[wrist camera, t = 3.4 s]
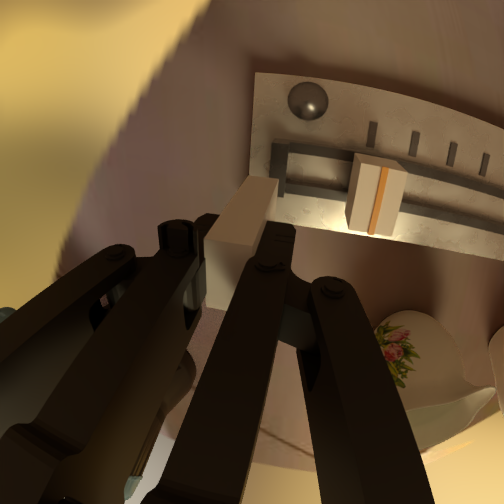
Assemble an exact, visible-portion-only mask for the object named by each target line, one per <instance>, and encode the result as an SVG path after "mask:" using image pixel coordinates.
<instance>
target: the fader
mask: <svg viewBox="0 0 504 504" xmlns="http://www.w3.org/2000/svg"><path fill="white" fill-rule="evenodd" d="M407 175H408V172H407V171H406V170H405V169H404V168H403V167H402V166H401V165H400V164H399V163H398V162H397V161H395V160H390V159H385V158H380V157H375V156H370V155H365V154H360V153H355V154H354V160H353V163H352V166H351V172H350V178H349V184H348V186H349V189H348V195H347V200H346V205H345V211H344V212H345V217H346V222H347V226H348V230H353V231H359V232H365V233H367V234H368V235H373V236H374V234H377V235H383V236H389V237H392V234H393V231H394V227H395V224H396V220H397V216H398V212H399V208H400V204H401V200H402V196H403V192H404V188H405V184H406V179H407Z"/></svg>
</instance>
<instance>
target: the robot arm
mask: <svg viewBox="0 0 504 504" xmlns="http://www.w3.org/2000/svg"><path fill="white" fill-rule="evenodd" d="M278 183H279V179H275V178H267V177H259V176H250V175H248V176H247V178H246V179H245V181H244V182H243V183H242V185H241V186H240V188H239V189H238V190H237V192H236V193H235V195H234V196H233V197H232V199H231V200H230V202H229V203H228V204H227V206H226V207H225V209H224V210H223V212H222V213H221V214H220V215H217V214H209V213H206V214H204V215H202V216H200V217H198V218H197V220H196V221H195V222H194V223H193V222H192V221H188V220H180V219H176V220H169V221H166V222H163V223H161V224H160V225H158V226H157V227H158V237H159V246H160V249H159V250H158V252H157V253H156V254H155V255H154V256H153V257H136V255H135V251H134V248H132V247H131V246H129V245H125V244H115V245H112V246H109V247H107V248H105V249H103V250H101V251H100V252H98V253H97V254H95V255H94V256H92V257H91V258H89V259H88V260H86V261H85V262H83V263H82V264H80V265H79V266H77V267H76V268H74V269H73V270H71V271H70V272H68V273H67V274H66V275H64V276H63V277H61V278H60V279H58V280H57V281H56V282H54V283H53V284H51V285H50V286H49V287H47V288H46V289H45V290H43V291H42V292H40V293H39V294H38V295H36V296H35V297H34V298H32V299H31V300H30V301H28V302H27V303H26V304H25V305H23V306H22V307H20V308H19V309H18V310H15V309H13V308H10V307H3V308H0V504H124V502H125V500H128V499H129V498H131V496H132V495H133V493H134V491H135V489H136V487H137V485H138V483H139V482H140V480H141V479H142V477H143V476H142V474H143V472H144V469H145V467H146V464H147V462H148V459H149V457H150V454H151V452H152V449H153V447H154V444H155V442H156V439H157V437H158V434H159V432H160V430H161V427H162V424H163V422H164V420H165V418H166V416H167V414H168V413H169V412H170V411H171V410H172V409H173V408H174V407H175V406H176V405H177V404H178V403H179V402H180V401H181V399H182V398H183V397H184V396H185V395H186V394H187V393H188V392H189V391H190V389H191V387H192V385H193V382H194V380H195V377H196V367H195V364H194V362H193V360H192V358H191V356H190V355H189V354H188V352H187V351H186V348H187V346H188V344H189V342H190V340H191V337H192V335H193V333H194V331H195V329H196V327H197V325H198V322H199V320H200V318H201V315H202V302H203V300H204V298H205V296H206V307H210V308H215V309H220V310H226V311H227V312H226V314H225V317H224V319H223V322H222V324H221V327H220V329H219V332H218V334H217V337H216V339H215V342H214V344H213V347H212V349H211V352H210V354H209V357H208V359H207V362H206V365H205V367H204V370H203V372H202V375H201V377H200V380H199V382H198V385H197V387H196V390H195V392H194V395H193V397H192V400H191V402H190V405H189V408H188V410H187V413H186V415H185V418H184V420H183V423H182V425H181V428H180V430H179V433H178V435H177V438H176V441H175V443H174V446H173V448H172V451H171V453H170V456H169V458H168V461H167V464H166V466H165V469H164V471H163V474H162V476H161V478H160V481H159V483H158V484H157V486H156V487H155V488H154V489H152V490H151V491H150V492H148V493H147V494H146V496H145V497H144V498H143V500H142V501H141V503H140V504H241V503H242V499H243V495H244V491H245V487H246V483H247V479H248V475H249V471H250V467H251V463H252V459H253V454H254V450H255V446H256V442H257V437H258V433H259V428H260V424H261V419H262V415H263V410H264V406H265V401H266V396H267V392H268V387H269V382H270V377H271V372H272V368H273V363H274V358H275V353H276V347H277V344H278V340H280V341H282V342H284V343H287V344H289V345H291V346H293V347H296V348H297V349H296V354H297V359H298V365H299V370H300V376H301V381H302V387H303V392H304V398H305V404H306V410H307V415H308V421H309V427H310V433H311V439H312V445H313V451H314V457H315V464H316V470H317V476H318V483H319V489H320V496H321V503H322V504H435V502H434V498H433V495H432V492H431V488H430V484H429V481H428V478H427V474H426V471H425V468H424V464H423V461H422V458H421V455H420V452H419V449H418V446H417V443H416V440H415V437H414V434H413V431H412V428H411V425H410V422H409V420H408V417H407V414H406V411H405V409H404V406H403V403H402V400H401V398H400V395H399V393H398V390H397V387H396V385H395V382H394V380H393V377H392V375H391V372H390V370H389V367H388V365H387V362H386V360H385V357H384V355H383V353H382V350H381V348H380V345H379V343H378V341H377V338H376V336H375V334H374V331H373V329H372V327H371V325H370V322H369V320H368V318H367V316H366V313H365V311H364V309H363V307H362V304H361V302H360V300H359V298H358V296H357V294H356V291H355V290H354V288H353V287H352V286H351V284H349V283H348V282H346V281H345V280H343V279H340V278H337V277H331V276H325V277H319V278H317V279H315V280H314V281H313V282H312V283H309V282H306V281H304V280H302V279H300V278H299V277H297V276H296V275H295V274H294V273H293V272H292V270H291V262H292V255H293V248H294V242H295V235H296V229H295V228H294V226H293V225H292V224H290V223H283V222H276V221H275V214H276V204H277V193H278ZM105 294H106V296H107V300H108V303H109V304H107V305H106V306H104V307H102V305H101V302H100V298H101V297H102V296H103V295H105ZM64 497H65V499H64Z"/></svg>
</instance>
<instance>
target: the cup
mask: <svg viewBox="0 0 504 504" xmlns="http://www.w3.org/2000/svg"><path fill="white" fill-rule="evenodd" d="M488 350H489V354H490V359H491V363H492V368H493V372H494V377H495V383H496V388H497V394H498V400H499V406H500V409H501V411H502V414H503V416H504V326H503V327H501V328H500V329H499V330H498V331H497V332H496V333H495V334H494V336H493V337H492V339H491V340H490V343H489V346H488Z"/></svg>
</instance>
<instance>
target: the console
mask: <svg viewBox="0 0 504 504" xmlns="http://www.w3.org/2000/svg"><path fill="white" fill-rule="evenodd" d="M355 153H360V154H365V155H370V156H375V157H380V158H385V159H390V160H395V161H397V162H398V163H399V164H400V165H401V166H402V167H403V168H404V169H405V170H406V171H407V172H408V175H407V179H406V184H405V188H404V192H403V196H402V200H401V204H400V208H399V212H398V216H397V220H396V224H395V227H394V231H393V234H392V237H389V236H383V235H377V234H374V236H373V235H368V234H367V233H365V232H359V231H353V230H348V226H347V222H346V217H345V212H344V211H345V205H346V200H347V195H348V189H349V186H348V184H349V178H350V172H351V166H352V163H353V160H354V154H355ZM249 175H250V176H259V177H267V178H275V179H279V183H278V193H277V204H276V214H275V221H276V222H283V223H290V224H292V225H299V226H306V227H313V228H319V229H326V230H333V231H339V232H346V233H352V234H358V235H365V236H371V237H377V238H383V239H389V240H395V241H401V242H406V243H412V244H418V245H423V246H429V247H435V248H440V249H445V250H451V251H456V252H461V253H466V254H472V255H477V256H482V257H487V258H492V259H497V260H501V261H504V129H501V128H499V127H497V126H494V125H492V124H490V123H487V122H485V121H482V120H480V119H477V118H475V117H472V116H469V115H467V114H464V113H461V112H458V111H455V110H452V109H450V108H447V107H443V106H440V105H437V104H434V103H431V102H427V101H424V100H421V99H417V98H413V97H410V96H406V95H402V94H398V93H394V92H390V91H386V90H381V89H377V88H372V87H367V86H362V85H357V84H352V83H346V82H340V81H334V80H327V79H320V78H313V77H305V76H296V75H285V74H273V73H258V72H255V84H254V100H253V116H252V133H251V149H250V166H249Z"/></svg>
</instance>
